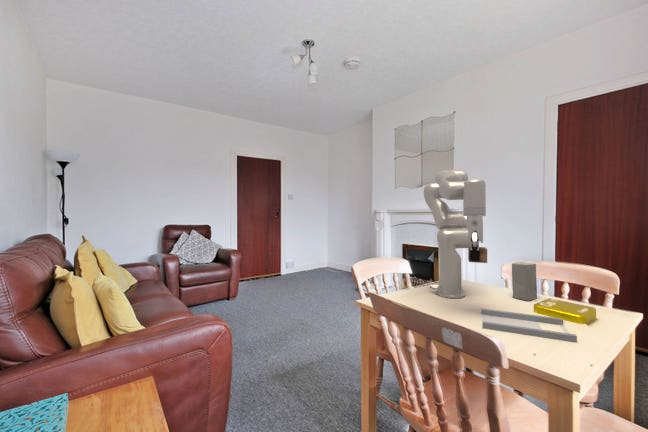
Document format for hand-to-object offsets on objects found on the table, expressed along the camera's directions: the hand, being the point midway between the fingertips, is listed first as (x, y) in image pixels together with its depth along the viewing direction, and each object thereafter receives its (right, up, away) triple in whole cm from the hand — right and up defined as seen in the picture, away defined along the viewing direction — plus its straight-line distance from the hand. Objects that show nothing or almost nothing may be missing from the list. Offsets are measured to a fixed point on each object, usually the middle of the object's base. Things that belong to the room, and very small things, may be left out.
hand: (474, 259), depth 108 cm
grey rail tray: (+9, -22, -13) cm, 27 cm away
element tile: (+32, -22, -3) cm, 39 cm away
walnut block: (+1, -1, 0) cm, 1 cm away
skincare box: (+33, -21, +20) cm, 43 cm away
